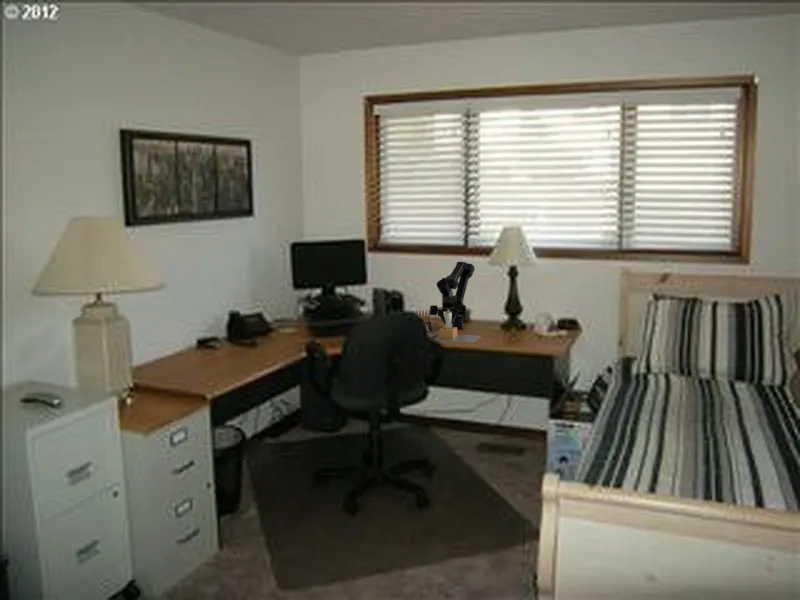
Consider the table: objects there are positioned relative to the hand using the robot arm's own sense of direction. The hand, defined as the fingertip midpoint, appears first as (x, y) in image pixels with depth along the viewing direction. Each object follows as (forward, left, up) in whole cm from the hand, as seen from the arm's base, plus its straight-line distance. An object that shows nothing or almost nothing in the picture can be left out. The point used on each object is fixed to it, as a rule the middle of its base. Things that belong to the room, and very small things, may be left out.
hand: (448, 323), depth 361 cm
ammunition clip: (-13, -19, -8) cm, 25 cm away
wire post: (-1, 0, -6) cm, 6 cm away
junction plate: (0, +5, -8) cm, 9 cm away
